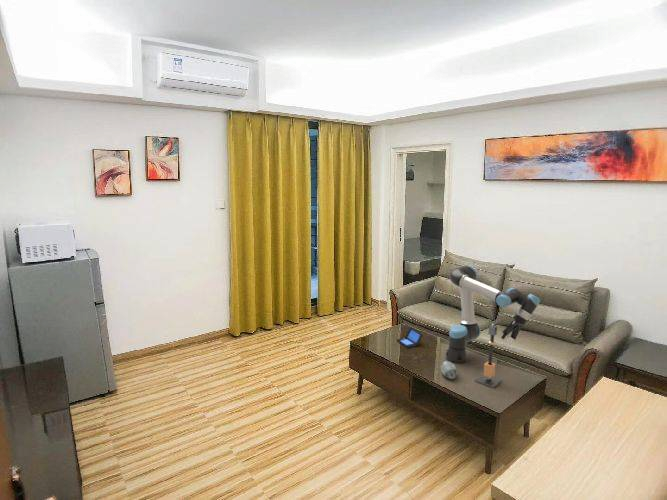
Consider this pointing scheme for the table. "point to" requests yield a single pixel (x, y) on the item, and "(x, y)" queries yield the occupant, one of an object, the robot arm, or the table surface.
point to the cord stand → (490, 361)
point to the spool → (448, 370)
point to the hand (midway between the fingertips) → (502, 344)
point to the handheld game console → (411, 339)
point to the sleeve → (489, 370)
